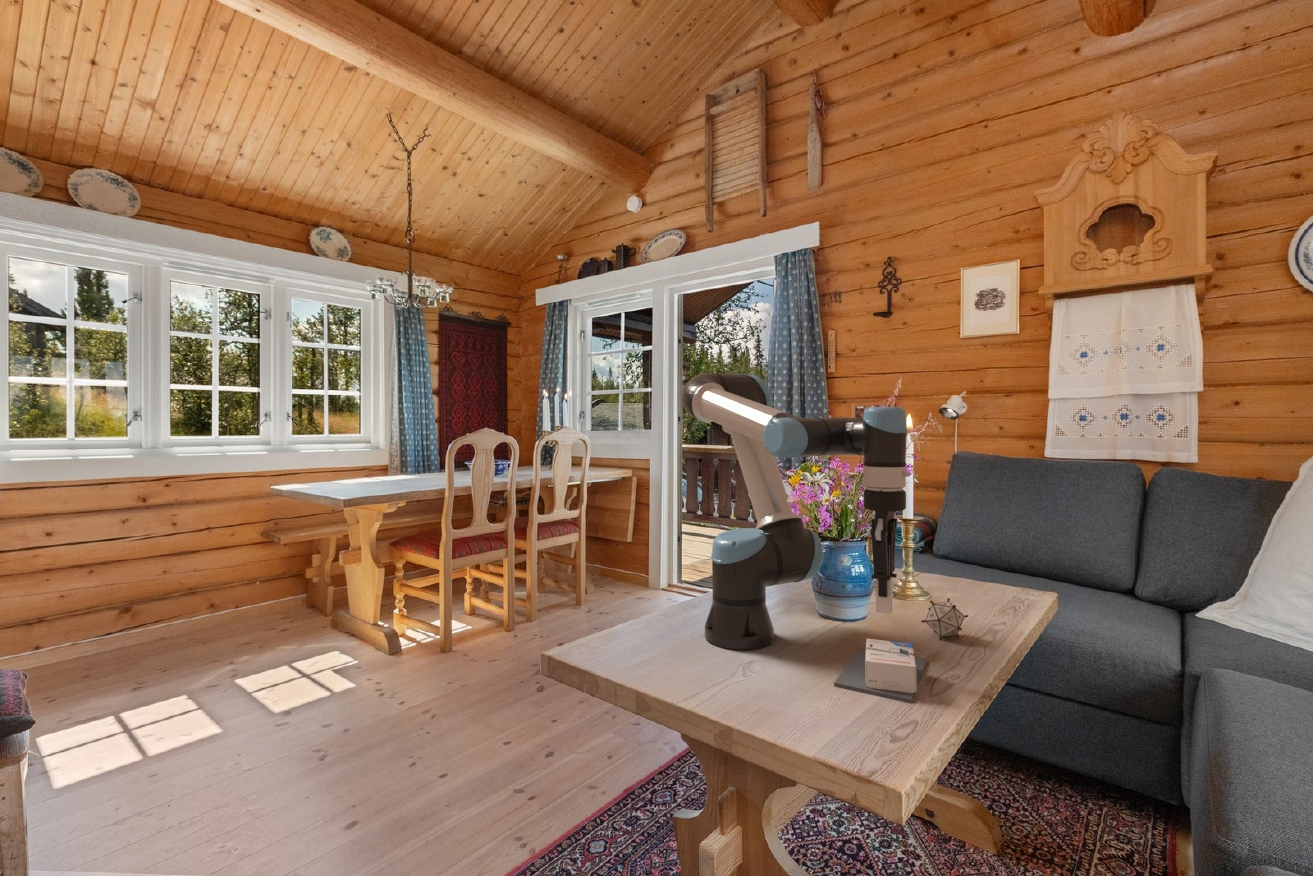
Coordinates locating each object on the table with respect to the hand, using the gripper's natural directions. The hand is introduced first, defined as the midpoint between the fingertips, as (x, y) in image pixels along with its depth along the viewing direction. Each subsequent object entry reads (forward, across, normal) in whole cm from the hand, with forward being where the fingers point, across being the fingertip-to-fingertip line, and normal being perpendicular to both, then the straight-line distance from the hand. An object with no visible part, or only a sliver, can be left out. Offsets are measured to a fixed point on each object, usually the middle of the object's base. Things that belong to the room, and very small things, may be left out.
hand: (883, 612), depth 116 cm
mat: (+11, -1, 0) cm, 11 cm away
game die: (+12, +26, -8) cm, 30 cm away
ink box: (+9, +2, -1) cm, 9 cm away
